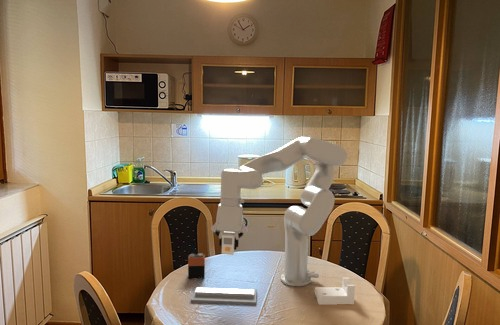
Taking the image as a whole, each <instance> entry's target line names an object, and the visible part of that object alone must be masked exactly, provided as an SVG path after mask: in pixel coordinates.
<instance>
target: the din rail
mask: <svg viewBox="0 0 500 325" xmlns="http://www.w3.org/2000/svg"><path fill="white" fill-rule="evenodd" d="M195 288H196V287H195ZM223 288H224V287H223ZM223 288H221V287H219V288H218V287H201V288H196V291H195V296H219V297H245V298H254V290H255V289H254V290H249V289H250V288H248V289H247V288H246V289H245V288H228V289H223Z"/></svg>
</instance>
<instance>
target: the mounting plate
mask: <svg viewBox="0 0 500 325" xmlns="http://www.w3.org/2000/svg"><path fill="white" fill-rule="evenodd" d="M196 288H202V287H200V286H199V287H195V288H194V291H193V293H192V296H191V298H190V303H198V304H201V303H202V304H226V305H227V304H228V305H248V306H249V305H252V306H256V305H257V293H258V292H257V290H258V289H254V288H253V289H252V288H248V289H249V290H254V298H245V297H219V296H195V291H196ZM223 289H229V288H227V287H226V288H225V287H223Z"/></svg>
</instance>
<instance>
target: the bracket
mask: <svg viewBox="0 0 500 325" xmlns="http://www.w3.org/2000/svg"><path fill="white" fill-rule="evenodd" d="M341 283H342V285H341V287H339V286H337V287H336V286H335V287H334V286H333V287H331V286H329V287H328V286H324V287H323V286H320V287H319V286H316V287H315V288H314V295H315V297H316V301H317V303H318V305H337V304H354V303H355V290H356V288H355V287H356V285H355V284H351V278H350V277H347V276H346V277H342V282H341Z"/></svg>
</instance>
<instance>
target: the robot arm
mask: <svg viewBox="0 0 500 325" xmlns="http://www.w3.org/2000/svg"><path fill="white" fill-rule="evenodd" d="M304 159H308V160H313V161H314V162H315V169H314V172H313V174H312V176H311V178H310V179H309V181H308V182H307V184H306V185H305V187H304V188H303V190H302V191H301V193H300V197H299V198H300V201H301V203H302V204H303V205H304V206H306V207H307V208H304V207H303V206H299V205H292V206H289V207H288V208H287V209H286V210H285V212H284V215H283V222H284V224H283V225H284V232H285V234H284V235H285V239H284V240H285V241H284V242H285V244H284V246H285V247H284V270H283V271H284V272H283V273H282V274H281V275H280V282H282V283H283V284H285V285H287V286H292V287H304V286H308V285H309V284H310V283H311V282H312V281H311V279H312V278H313V279H319V273H318V272H316V271H314V270H313V271H310V270H309V268H308V260H309V258H308V257H309V237H311V236H315V234H317V233H318V231H319V230H320V229H321V228H322V226H323V225H324V223H325V222H326V220H327V219H328V217H329V215H330V214H331V212H332V211H333V209H334V205H335V199H336V198H335V195H334V193H333V192H332V191H331V190H330V188H331V186H332V183H333V182H334V179H335V168H337V167H341V166H342V165H344V164H345V163H346V162H347V160H348V153H347V150H346V149H345V148H344V147H343V146H341V145H339V144H336V143H332V142H329V141H327V140H323V139H320V138H317V137H315V136H314V137H312V136H300V137H297V138H295V139H294V140H292V141H290V142H288V143H286V144H285V145H282V147H279V148H278V149H276V150H274V151H271V152H269V153H267V154H264V155H261V156H258V157H256V158H254V159H252V160H249V161H248V162H246V163H244V164H243V165H241V166H239V168H238V169H236V168H225V169H223V170H221V174H220V176H221V177H220V202H219V204H218V207H217V212H216V217H215V218H216V221H215V223H214V224H213V225H212V226H211V227H210V230H211V231H212V232H213V233H214V234H215V235H216V236H217V237H218V239H219V245H218V246H219V247H220V250H222V235H223V233H224V231H226V232H234V233H235V241H234V251H235V250H237V248H238V247H239V240H240V238H242V237H243V236H244V235H245V234H247V233H248V231H249V230H248V228H247V226H246V225H245V223H244V208H243V205H242V204H244V203H245V199H244V198H242V196H241V194H242V193H241V189H247V190H256V189H259V188H260V187H261V186H262V184H263V183H264V178H263V175H265V174H269V173H273V172H274V173H275V172H283V171H285V170H288V169H289V168H290V167H293V166H294V165H296V164H297V163H299V162H301V161H303V160H304Z"/></svg>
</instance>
